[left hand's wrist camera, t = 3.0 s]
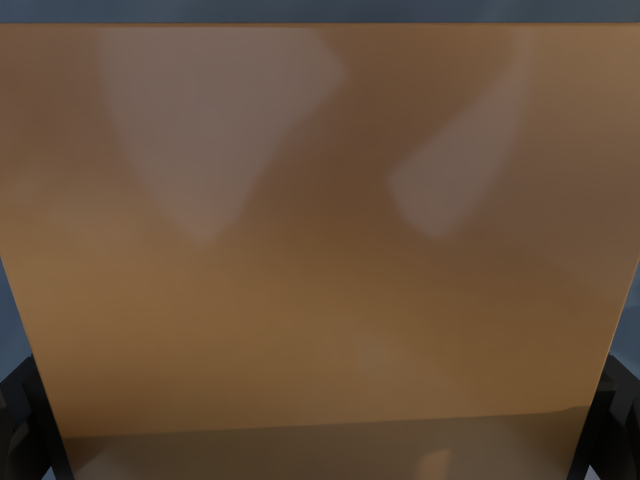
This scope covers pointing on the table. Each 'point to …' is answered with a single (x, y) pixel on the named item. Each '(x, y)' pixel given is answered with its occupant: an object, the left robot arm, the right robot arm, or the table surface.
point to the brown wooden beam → (320, 242)
